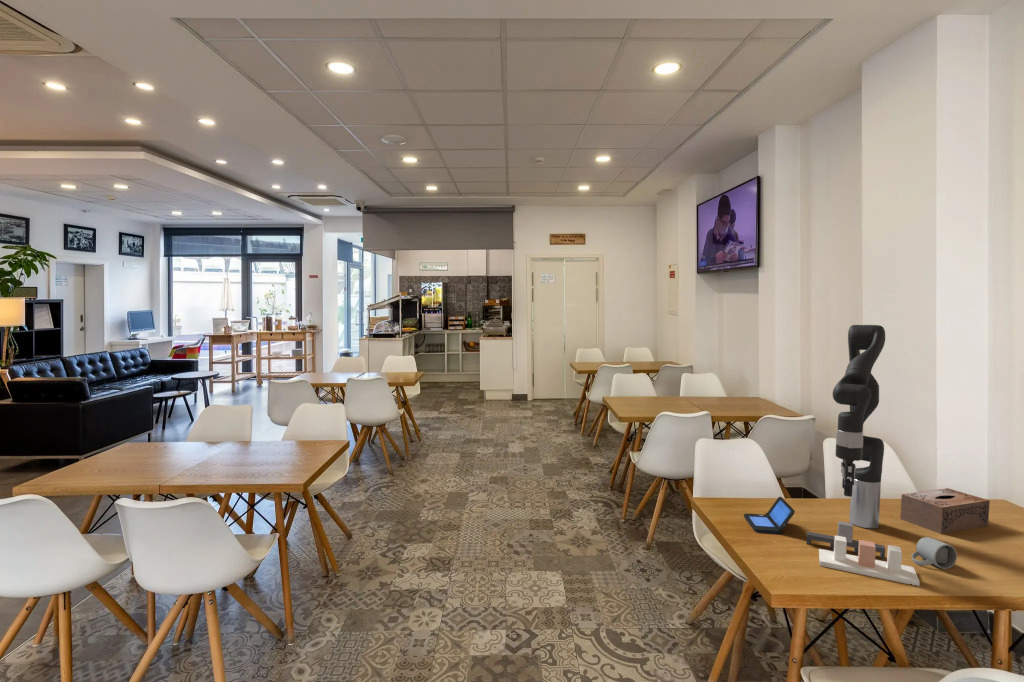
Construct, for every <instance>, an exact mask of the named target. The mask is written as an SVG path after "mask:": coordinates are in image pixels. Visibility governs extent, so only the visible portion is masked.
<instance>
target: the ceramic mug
mask: <svg viewBox="0 0 1024 682" xmlns="http://www.w3.org/2000/svg"><path fill="white" fill-rule="evenodd" d="M917 557H920V558H922V559H923V560H918V559H916V558H917ZM911 559H912V562H913V563H914V564H915V565H917V566H930V565H934V566H936V567H938V568H939V569H943V570H948V569H951V568H952V567H954V566H955V564H956V563H957V559H958V554H957V551H956V549H955V547H954V546H952V545H951V544H948V543H945V542H943V541H940V540H938V539H935V538H932V537H929V536H927V537H925V536H924V537H920V538H919V539H918V541H917V542H916V545H915V552H913V553H912V554H911Z"/></svg>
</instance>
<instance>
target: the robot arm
mask: <svg viewBox="0 0 1024 682" xmlns="http://www.w3.org/2000/svg"><path fill="white" fill-rule="evenodd" d="M847 332H848V333H847V345H848V346H847V347H848V357H849V359H848V360H849V361H848V362H849V363H848V364H847V365H846V366H847V367H846V370H845V373H844V376H842V378H841V379H840V380H838V382H837V383H836V384H835V386H834V387H833V390H832V398H833V400H834V402H835V403H837V404H839V405H842V406H843V405H844V406H845V405H846V406H849V411H843V412H842V411H841V412H839V414H838V417H837V430H836V437H835V439H836V440H835V457H837V458H838V459H841V460H842V461H841V462H840V472H841V476H842V482H841V483H842V484H841V485H842V486H841V487H842V489H843V495H844V496H845V497H849V498H850V502H849V518H848V519H849V520H848V521H849V523H852V524H853V526H857V527H860V528H865V529H879V527H880V525H879V524H880V510H881V509H880V507H881V491H882V490H881V487H882V486H881V485H882V473H883V464H884V463H883V462H884V454H885V444H884V443H885V442H884V440H883V439H881V438H878V437H874V436H867V435H864V433H863V432H864V431H863V430H864V429H863V427H864V423H865V422H866V421H867V419H868V418H869V417H870V416H871V415H872V414H873V413H874V411H875V410H876V409H877V407H878V405H879V402H880V385H879V383H878V381H877V380H876V378H875V377H874V375H873V374H872V370H873V367H874V365H875V363H876V362H877V360H878V357H879V356H880V355H881V353H882V351H883V349H884V347H885V343H886V330H885V328H884V326H882V325H879V324H852V325H850V326H849V328H848V331H847ZM861 351H863V352H861ZM855 461H856V462H860V461H863V462H868V463H869V465H868V466H865V467H857V466H856V463H854V462H855Z"/></svg>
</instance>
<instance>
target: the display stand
mask: <svg viewBox="0 0 1024 682" xmlns="http://www.w3.org/2000/svg"><path fill="white" fill-rule="evenodd" d="M834 536H835V539H834V549H833V550H828V549H822V548H818V557H819V566H820V567H825V568H829V569H834V570H838V571H843V572H849V573H854V574H856V575H857V574H858V575H863V576H868V577H873V578H878V579H882V580H887V581H892V582H897V583H901V584H907V585H910V584H912V585H911V586H915V585H917V586H916V587H920V579H919V577H918V575H917V572H916V570H915V568H914V566H910V565H904V564H902V560H903V559H902V558H903V557H902V556H903V552H902V549H901V547H900V546H896V545H890V544H887V553H886V554H887V557H886V561H885V560H884V561H883V560H879V559H876V553H877V552H876V547H875V544H876V543H875V542H874V541H868V540H863V539H858V541H859V547H858V554H857V555H853V554H848V553H847V546H846V545H847V541H846V537H842V536H838V535H834Z"/></svg>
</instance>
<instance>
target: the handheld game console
mask: <svg viewBox="0 0 1024 682" xmlns="http://www.w3.org/2000/svg"><path fill="white" fill-rule="evenodd" d="M793 508H794V507H793ZM793 508H792V506H791V505H790V504H789V503H788V502H787V501H786V500H785V499H784V498H783V497H782V496H779V497H777V498H776V500H775V501H774V503H773V504H772V505H771V507H770V508H769V510H768V511H767V512H765V514H763V513H762V514H760V513H744V514H743V517H744V519H745V521H747V523H748V524H749V526H750V527H751V529H752V530H753V531H754V532H755V533H758V534H759V533H760V534H761V533H762V534H775V535H776V534H777V535H782V534H783V529H784V528H785V527H786V525H788V522H789V521H790V520H791V519H792V518H793V516H794V514H795V512H796V511H795V510H794V509H793Z"/></svg>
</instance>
